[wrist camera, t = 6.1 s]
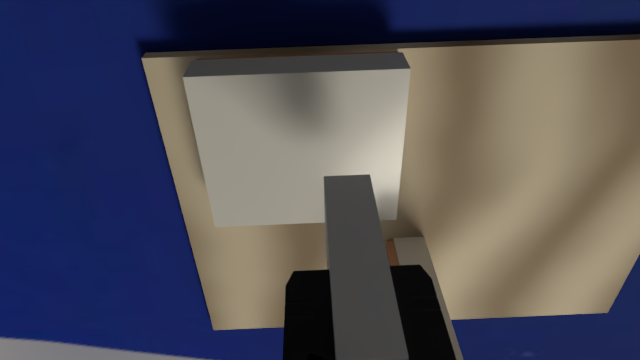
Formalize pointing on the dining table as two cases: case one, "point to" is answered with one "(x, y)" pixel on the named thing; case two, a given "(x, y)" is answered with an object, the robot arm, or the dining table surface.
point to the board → (457, 179)
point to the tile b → (418, 254)
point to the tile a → (296, 131)
